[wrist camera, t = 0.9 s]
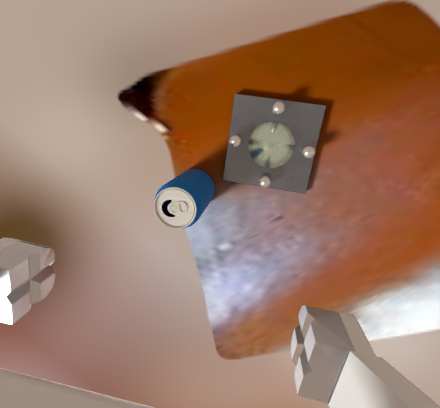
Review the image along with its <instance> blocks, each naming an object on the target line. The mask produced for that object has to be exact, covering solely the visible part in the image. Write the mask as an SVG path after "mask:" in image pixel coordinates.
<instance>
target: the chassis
mask: <svg viewBox="0 0 440 408" xmlns="http://www.w3.org/2000/svg"><path fill="white" fill-rule="evenodd" d="M325 108H326V106H325V105H317V104H309V103H302V102H294V101H287V100H279V99H271V98H264V97H256V96H248V95H241V94H235V97H234V105H233V112H232V119H231V126H230V133H229V141H228V148H227V155H226V162H225V169H224V177H223V180H225V181H231V182H237V183H243V184H249V185H255V186H261V187H262V188H273V189H279V190H285V191H291V192H297V193H303V194H305V193H306V189H307V185H308V181H309V176H310V172H311V168H312V164H313V159H314V155H315V151H316V146H317V142H318V138H319V134H320V129H321V125H322V121H323V117H324V112H325Z"/></svg>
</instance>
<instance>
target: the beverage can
mask: <svg viewBox="0 0 440 408" xmlns="http://www.w3.org/2000/svg"><path fill="white" fill-rule="evenodd" d="M214 193H215V185H214V182H213V180H212V178H211V177H210V176H209V174H207V173H206V172H204V171H202V170H200V169H190V170H187V171H185V172H183V173H182V174H180V175H179V176H177V177H176V178H174V179H173V180H171V181H170V182H168V183H167V184H165V185H164V186H162V187H161V188H160V189H159V190H158V192H157V194H156V197H155V201H154V211H155V214H156V216H157V218H158V219H159V221H160V222H161V223H162V224H164V225H165V226H167V227H169V228H173V229H181V228H187V227H189V226H192V225H193V224H194V223H195V222H196V221H197V220H198V219H199V217H200V216H201V214H202V213H203V212H204V210H205V209H206V207H207V206H208V204H209V203H210V201H211V200H212V198H213V196H214Z"/></svg>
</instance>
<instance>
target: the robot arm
mask: <svg viewBox="0 0 440 408" xmlns="http://www.w3.org/2000/svg"><path fill="white" fill-rule="evenodd" d="M54 261H55V255H54V251H53V250H52V248H50V247H45V246H41V245H37V244H33V243H29V242H25V241H21V240H17V239H12V238H2V239H0V322H2V323H7V324H14V323H15V322H16V321H17V320H19V319H20V318H21V317H22V316H23V315H24V314H26V313H27V312H28V311H29V310H30V307H31V304H33V303H36V302H39V301H41V300H42V299H44V298H45V297H46V296H47V295H48V294H49V292H50V290H51V289H52V287H53V284H54V280H55V272H54V270H53V269H52V267H51V266H50V265H51V264H52V263H53V262H54ZM298 317H299V322H300V324H299V325H298V326H297V327H295V328H294V332H293V335H292V341H291V357H292V361H293V362H294V364H295V365H296V369H295V372H294V377H295V383H296V389H297V395H299V396H303V397H306V398H310V399H314V400H317V401H321V402H325V403H328V404H329V407H330V408H440V406H439V405H438V404H436V403H435V402H434V401H433V400H432V399H431V398H429V397H428V396H427V395H425V393H423V392H422V391H421V390H420V389H419V388H417V387H416V386H415V385H414V384H413V383H411V382H410V381H409V380H408V379H407V378H405V377H404V376H403V375H402V374H401V373H399V372H398V371H397V370H396V369H395V368H393V367H392V366H391V365H390V364H389V363H388V362H386V361H385V360H384V359H383V358H381V357H377V356H376V355H375V353H374V351H373V349H372V347H371V346H370V344H369V342H368V340H367V338H366V336H365V334H364V332H363V330H362V328H361V326H360V324H359V322H358V320H357V318H356V317H355V316H354V315H352V314H346V313H341V312H335V311H330V310H325V309H320V308H315V307H310V306H305V305H303V306H302V308H301V309H300V312H299V315H298ZM0 408H153V407H150V406H146V405H142V404H138V403H135V402H131V401H127V400H123V399H119V398H115V397H111V396H107V395H104V394H99V393H96V392H91V391H88V390H84V389H80V388H76V387H72V386H68V385H64V384H60V383H57V382H53V381H49V380H45V379H41V378H37V377H34V376H30V375H26V374H22V373H18V372H14V371H10V370H6V369H2V368H0Z"/></svg>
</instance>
